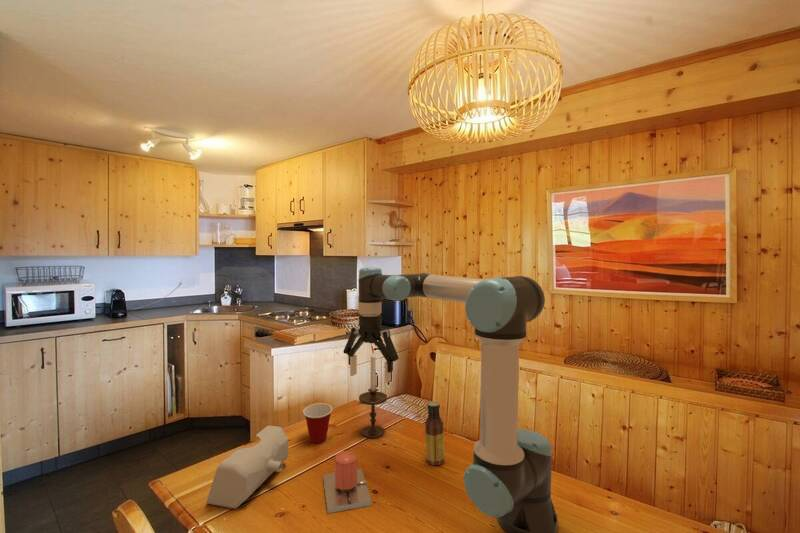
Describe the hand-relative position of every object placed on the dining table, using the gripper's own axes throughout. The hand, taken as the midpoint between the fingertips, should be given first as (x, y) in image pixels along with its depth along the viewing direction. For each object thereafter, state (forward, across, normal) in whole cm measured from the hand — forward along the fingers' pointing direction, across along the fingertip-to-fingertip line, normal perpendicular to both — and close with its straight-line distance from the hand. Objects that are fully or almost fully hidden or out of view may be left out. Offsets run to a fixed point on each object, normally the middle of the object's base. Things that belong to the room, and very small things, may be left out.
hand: (370, 378), depth 125 cm
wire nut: (+26, -2, +16) cm, 31 cm away
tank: (+29, +24, +26) cm, 46 cm away
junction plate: (+29, -2, +16) cm, 33 cm away
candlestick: (+29, +10, -18) cm, 36 cm away
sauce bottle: (+29, -18, -12) cm, 36 cm away
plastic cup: (+29, +25, -3) cm, 39 cm away
